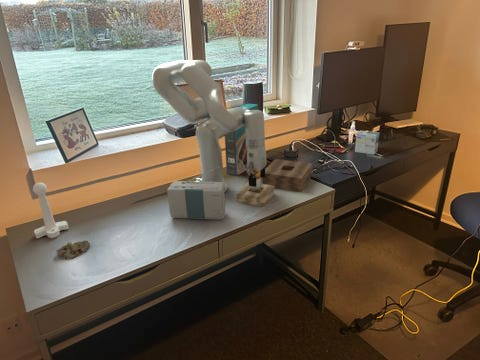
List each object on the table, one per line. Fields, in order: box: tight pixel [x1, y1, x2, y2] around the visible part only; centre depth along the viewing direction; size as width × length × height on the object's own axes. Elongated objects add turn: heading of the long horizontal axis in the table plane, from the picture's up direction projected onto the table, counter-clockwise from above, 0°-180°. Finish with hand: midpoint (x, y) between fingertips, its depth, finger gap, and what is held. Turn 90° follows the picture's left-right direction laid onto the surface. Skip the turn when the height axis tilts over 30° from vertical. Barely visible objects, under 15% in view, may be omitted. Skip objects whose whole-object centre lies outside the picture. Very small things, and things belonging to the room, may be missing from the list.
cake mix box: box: [224, 103, 259, 177], centre depth 184 cm, size 22×6×30 cm, turn 148°
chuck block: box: [261, 158, 313, 193], centre depth 171 cm, size 18×18×6 cm
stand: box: [236, 181, 275, 207], centre depth 157 cm, size 12×12×4 cm
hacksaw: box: [312, 157, 346, 174], centre depth 188 cm, size 24×10×2 cm, turn 121°
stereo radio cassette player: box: [166, 167, 226, 221], centre depth 142 cm, size 21×8×20 cm, turn 82°
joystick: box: [32, 181, 70, 239], centre depth 133 cm, size 11×8×20 cm
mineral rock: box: [55, 240, 91, 260], centre depth 126 cm, size 11×4×8 cm
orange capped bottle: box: [251, 169, 262, 193], centre depth 155 cm, size 4×4×11 cm
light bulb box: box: [354, 130, 380, 155], centre depth 202 cm, size 11×7×11 cm, turn 58°
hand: (257, 181), depth 154 cm, fingers open, 9 cm apart
